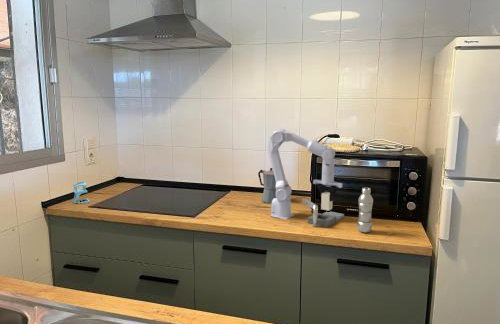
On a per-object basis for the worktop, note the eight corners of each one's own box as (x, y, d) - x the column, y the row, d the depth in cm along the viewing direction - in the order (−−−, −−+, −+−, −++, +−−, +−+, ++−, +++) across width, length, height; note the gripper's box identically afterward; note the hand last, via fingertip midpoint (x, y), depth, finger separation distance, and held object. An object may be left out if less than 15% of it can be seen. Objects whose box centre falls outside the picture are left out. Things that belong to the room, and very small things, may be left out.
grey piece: (318, 226, 176) (318, 205, 174) (314, 227, 175) (314, 205, 173) (305, 218, 188) (305, 198, 186) (301, 219, 187) (301, 198, 186)
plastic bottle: (357, 233, 168) (359, 189, 164) (355, 228, 174) (357, 186, 171) (372, 234, 167) (375, 190, 163) (370, 229, 173) (372, 186, 170)
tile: (319, 218, 190) (319, 215, 190) (327, 213, 197) (327, 210, 197) (336, 221, 184) (336, 218, 184) (343, 216, 191) (344, 214, 191)
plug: (321, 209, 184) (321, 193, 183) (324, 207, 187) (325, 191, 186) (328, 210, 182) (329, 194, 180) (332, 208, 185) (332, 192, 184)
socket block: (307, 223, 181) (307, 217, 181) (317, 218, 189) (317, 212, 188) (326, 228, 175) (326, 221, 175) (336, 222, 183) (336, 216, 182)
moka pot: (276, 205, 213) (277, 170, 209) (253, 201, 221) (253, 167, 217) (284, 201, 221) (284, 167, 217) (261, 197, 229) (261, 165, 225)
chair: (72, 202, 220) (70, 182, 218) (87, 199, 225) (85, 180, 223) (74, 205, 214) (72, 184, 212) (90, 202, 219) (88, 182, 216)
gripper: (310, 172, 183) (309, 199, 185) (338, 175, 174) (337, 204, 176) (317, 170, 188) (316, 196, 191) (344, 173, 180) (343, 201, 182)
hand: (327, 200), depth 184 cm, fingers closed on plug, 4 cm apart
